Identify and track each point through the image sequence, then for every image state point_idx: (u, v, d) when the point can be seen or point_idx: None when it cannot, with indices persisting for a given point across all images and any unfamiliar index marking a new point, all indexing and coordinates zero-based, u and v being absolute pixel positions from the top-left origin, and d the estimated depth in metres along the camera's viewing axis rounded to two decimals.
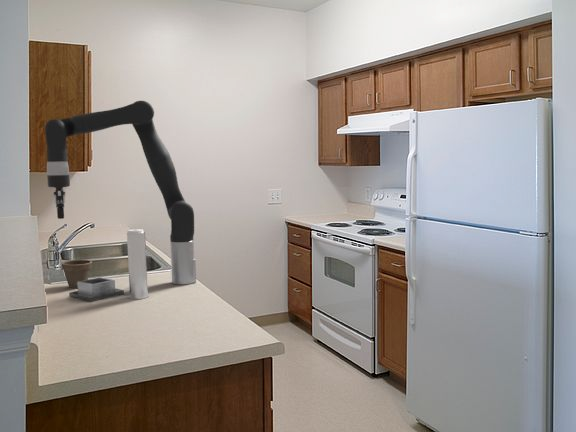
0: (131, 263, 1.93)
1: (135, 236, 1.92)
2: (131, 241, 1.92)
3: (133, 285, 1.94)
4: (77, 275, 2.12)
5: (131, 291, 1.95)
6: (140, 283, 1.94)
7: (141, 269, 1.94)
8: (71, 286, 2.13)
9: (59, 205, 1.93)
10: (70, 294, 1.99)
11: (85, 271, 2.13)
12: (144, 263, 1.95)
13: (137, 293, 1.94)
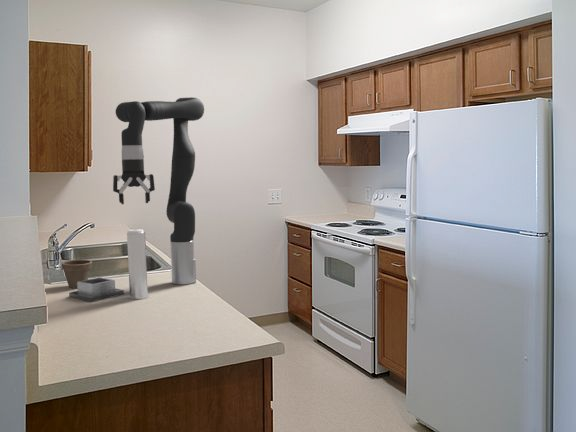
0: (131, 263, 1.93)
1: (135, 236, 1.92)
2: (131, 241, 1.92)
3: (133, 285, 1.94)
4: (77, 275, 2.12)
5: (131, 291, 1.95)
6: (140, 283, 1.94)
7: (141, 269, 1.94)
8: (71, 286, 2.13)
9: None
10: (70, 294, 1.99)
11: (85, 271, 2.13)
12: (144, 263, 1.95)
13: (137, 293, 1.94)
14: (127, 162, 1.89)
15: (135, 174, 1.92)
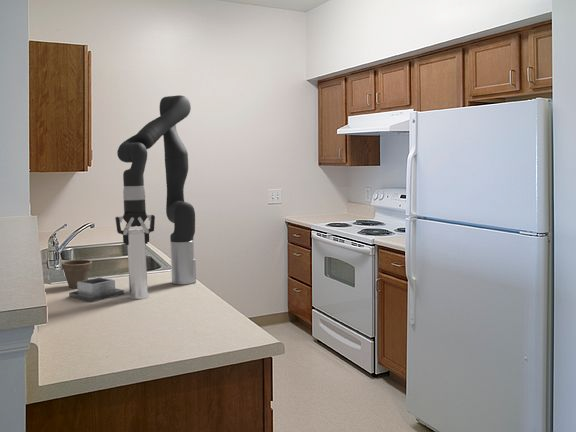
0: (131, 263, 1.93)
1: (135, 236, 1.92)
2: (131, 241, 1.92)
3: (133, 285, 1.94)
4: (77, 275, 2.12)
5: (131, 291, 1.95)
6: (140, 283, 1.94)
7: (141, 269, 1.94)
8: (71, 286, 2.13)
9: None
10: (70, 294, 1.99)
11: (85, 271, 2.13)
12: (144, 263, 1.95)
13: (137, 293, 1.94)
14: (129, 203, 1.90)
15: (137, 214, 1.94)
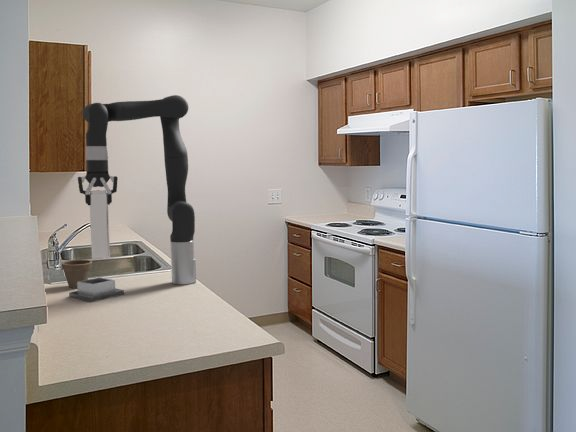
0: (93, 223, 1.95)
1: (97, 196, 1.94)
2: (93, 201, 1.94)
3: (95, 245, 1.95)
4: (77, 275, 2.12)
5: (92, 251, 1.96)
6: (102, 243, 1.96)
7: (103, 229, 1.95)
8: (71, 286, 2.13)
9: None
10: (70, 294, 1.99)
11: (85, 271, 2.13)
12: (106, 223, 1.96)
13: (98, 253, 1.95)
14: (91, 162, 1.92)
15: (100, 175, 1.95)
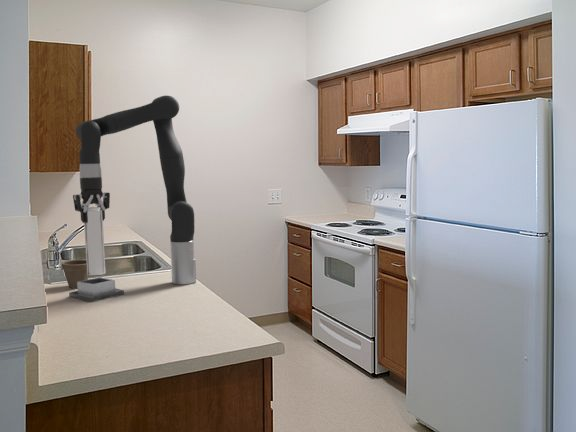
0: (92, 240, 1.96)
1: (96, 213, 1.96)
2: (92, 218, 1.95)
3: (94, 261, 1.97)
4: (77, 275, 2.12)
5: (91, 268, 1.97)
6: (101, 259, 1.98)
7: (101, 245, 1.98)
8: (71, 286, 2.13)
9: None
10: (70, 294, 1.99)
11: (85, 271, 2.13)
12: (103, 239, 2.00)
13: (98, 269, 1.98)
14: (90, 180, 1.93)
15: (95, 192, 1.97)
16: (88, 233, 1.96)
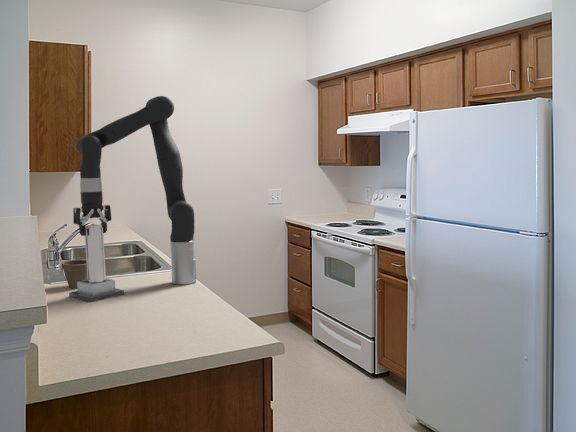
0: (93, 257, 1.97)
1: (97, 230, 1.97)
2: (93, 236, 1.96)
3: (95, 279, 1.98)
4: (77, 275, 2.12)
5: None
6: (102, 276, 1.99)
7: (102, 262, 1.99)
8: (71, 286, 2.13)
9: None
10: (70, 294, 1.99)
11: (85, 271, 2.13)
12: (104, 257, 2.00)
13: None
14: (90, 194, 1.94)
15: (95, 206, 1.98)
16: (89, 250, 1.97)
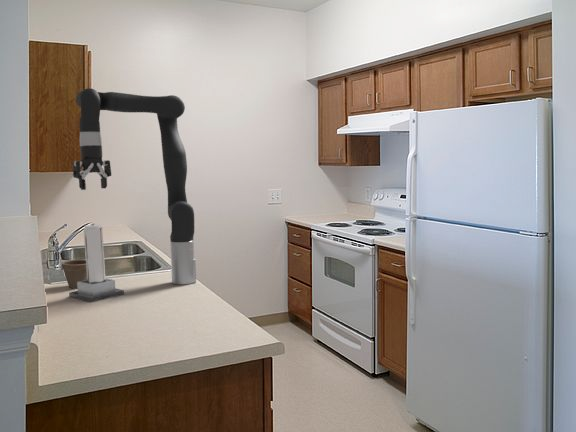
0: (92, 258, 1.97)
1: (96, 231, 1.96)
2: (92, 236, 1.96)
3: (95, 279, 1.98)
4: (77, 275, 2.12)
5: None
6: (102, 276, 1.99)
7: (102, 262, 1.99)
8: (71, 286, 2.13)
9: None
10: (70, 294, 1.99)
11: (85, 271, 2.13)
12: (103, 257, 2.00)
13: None
14: (90, 148, 1.93)
15: (95, 160, 1.97)
16: (88, 251, 1.96)
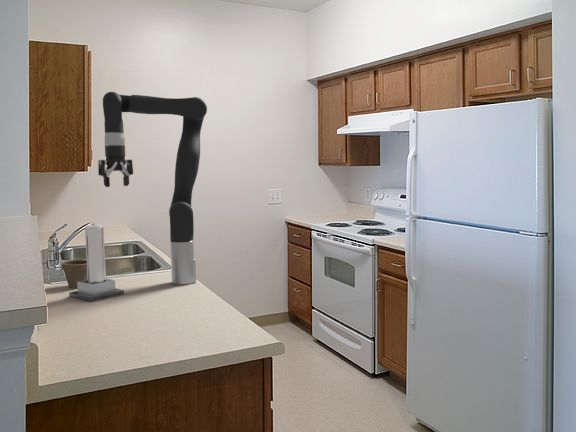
0: (93, 258, 1.97)
1: (98, 231, 1.97)
2: (93, 236, 1.96)
3: (95, 279, 1.98)
4: (77, 275, 2.12)
5: None
6: (102, 277, 1.99)
7: (103, 263, 1.99)
8: (71, 286, 2.13)
9: None
10: (70, 294, 1.99)
11: (85, 271, 2.13)
12: (104, 257, 2.00)
13: None
14: (114, 148, 2.06)
15: (118, 159, 2.10)
16: (89, 251, 1.97)
